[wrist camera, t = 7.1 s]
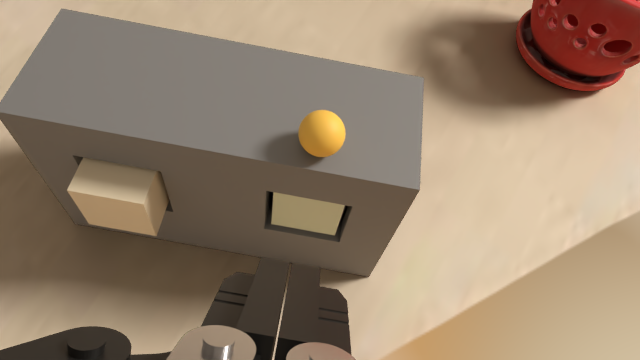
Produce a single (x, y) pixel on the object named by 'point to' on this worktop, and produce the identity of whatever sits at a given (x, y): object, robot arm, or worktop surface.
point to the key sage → (306, 213)
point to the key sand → (119, 196)
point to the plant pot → (581, 41)
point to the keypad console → (224, 134)
